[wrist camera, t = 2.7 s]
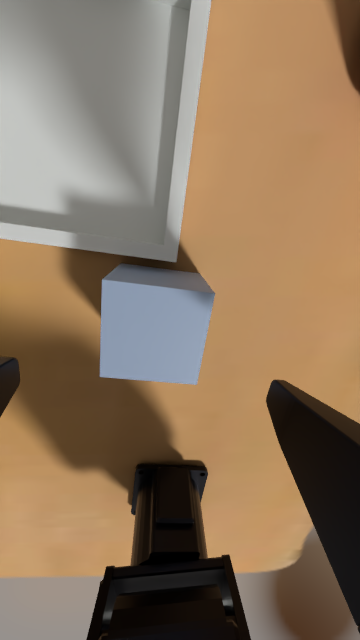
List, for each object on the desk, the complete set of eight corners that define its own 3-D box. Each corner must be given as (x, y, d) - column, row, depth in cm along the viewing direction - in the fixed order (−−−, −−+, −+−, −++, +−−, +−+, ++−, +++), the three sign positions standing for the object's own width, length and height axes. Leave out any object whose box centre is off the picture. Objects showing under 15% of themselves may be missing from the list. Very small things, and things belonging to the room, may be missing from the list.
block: (187, 341, 17) (196, 384, 12) (117, 334, 17) (99, 376, 12) (199, 273, 15) (214, 293, 11) (121, 262, 15) (102, 279, 10)
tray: (175, 258, 15) (176, 262, 13) (-27, 231, 14) (-48, 231, 12) (209, -3, 11) (216, -37, 9) (-76, -79, 9) (-118, -132, 8)
